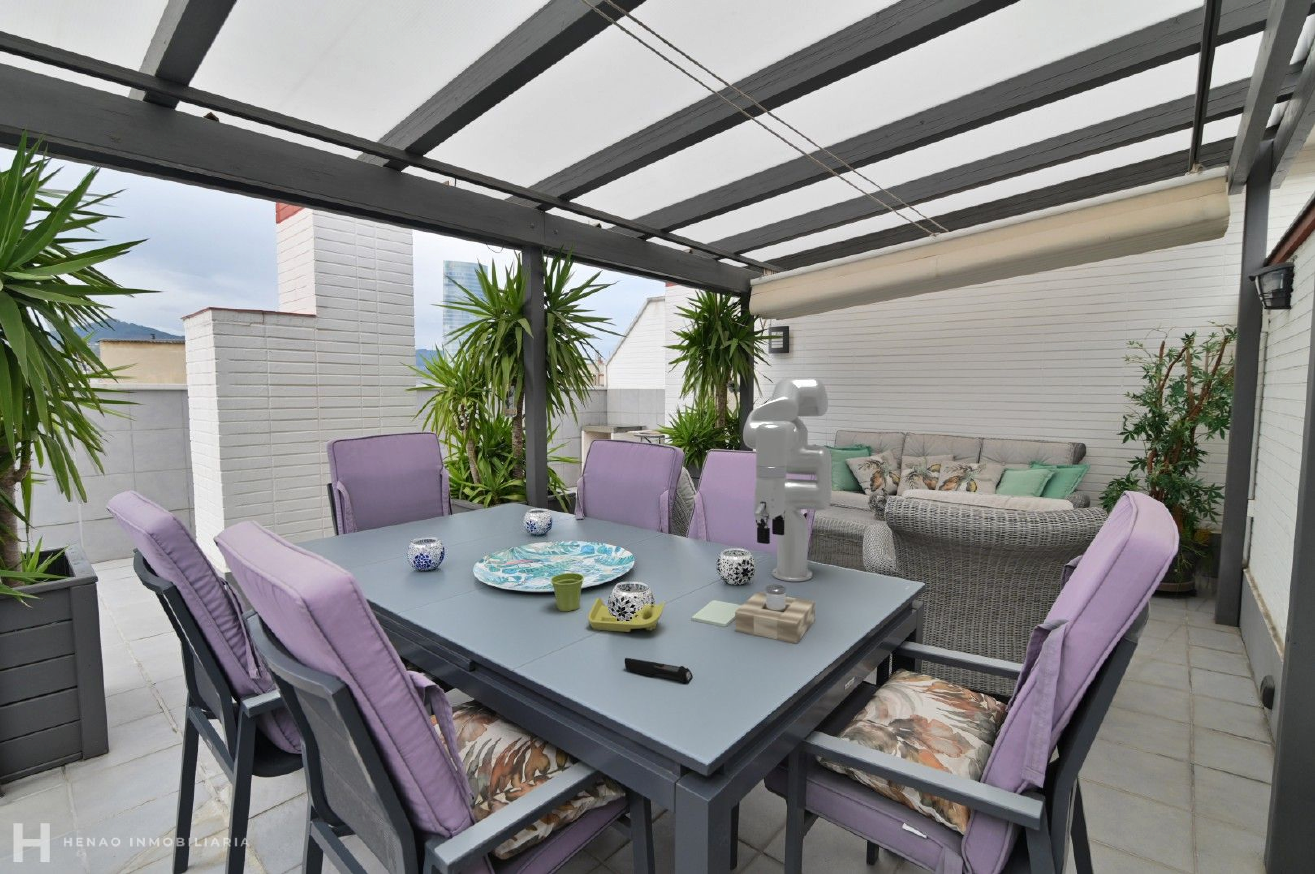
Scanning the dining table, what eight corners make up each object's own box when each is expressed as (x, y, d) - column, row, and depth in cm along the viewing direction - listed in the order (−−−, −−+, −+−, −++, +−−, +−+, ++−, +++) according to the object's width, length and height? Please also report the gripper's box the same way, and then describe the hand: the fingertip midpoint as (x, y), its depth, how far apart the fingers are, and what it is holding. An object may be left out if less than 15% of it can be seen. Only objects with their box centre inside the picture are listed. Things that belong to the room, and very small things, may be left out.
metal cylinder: (769, 620, 160) (769, 583, 159) (788, 623, 157) (788, 586, 156) (763, 627, 155) (763, 589, 154) (782, 630, 153) (782, 592, 152)
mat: (713, 602, 173) (713, 600, 173) (745, 608, 168) (745, 605, 168) (691, 620, 161) (691, 617, 160) (725, 627, 156) (725, 624, 156)
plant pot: (578, 615, 165) (577, 584, 165) (546, 613, 167) (545, 582, 167) (589, 602, 175) (588, 573, 174) (558, 600, 176) (557, 572, 176)
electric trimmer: (629, 666, 136) (628, 653, 136) (693, 678, 130) (693, 664, 130) (622, 674, 133) (621, 660, 133) (687, 686, 127) (687, 672, 126)
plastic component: (585, 621, 155) (599, 593, 163) (593, 641, 159) (607, 612, 167) (656, 626, 148) (667, 596, 156) (663, 646, 151) (673, 616, 160)
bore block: (757, 609, 167) (757, 591, 167) (814, 619, 159) (814, 601, 159) (735, 630, 153) (735, 611, 153) (796, 643, 145) (796, 623, 145)
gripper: (770, 467, 161) (770, 529, 163) (742, 476, 147) (743, 544, 148) (797, 469, 157) (797, 533, 159) (771, 478, 143) (771, 548, 144)
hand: (771, 538), depth 154 cm, fingers open, 9 cm apart
